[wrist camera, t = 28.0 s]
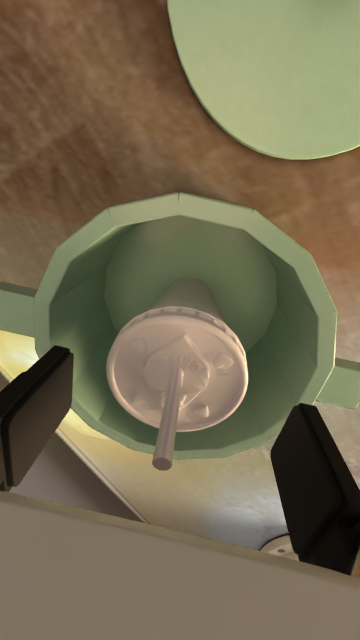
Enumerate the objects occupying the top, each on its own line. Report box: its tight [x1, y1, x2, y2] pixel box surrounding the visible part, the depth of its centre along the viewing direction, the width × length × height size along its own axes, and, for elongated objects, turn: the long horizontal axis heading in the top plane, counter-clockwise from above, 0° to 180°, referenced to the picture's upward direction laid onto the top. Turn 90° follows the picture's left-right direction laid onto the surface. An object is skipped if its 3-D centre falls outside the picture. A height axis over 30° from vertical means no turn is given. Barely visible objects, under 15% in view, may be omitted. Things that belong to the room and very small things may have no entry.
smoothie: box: [106, 278, 248, 470], centre depth 14 cm, size 6×6×14 cm
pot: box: [0, 192, 360, 460], centre depth 17 cm, size 15×20×8 cm
